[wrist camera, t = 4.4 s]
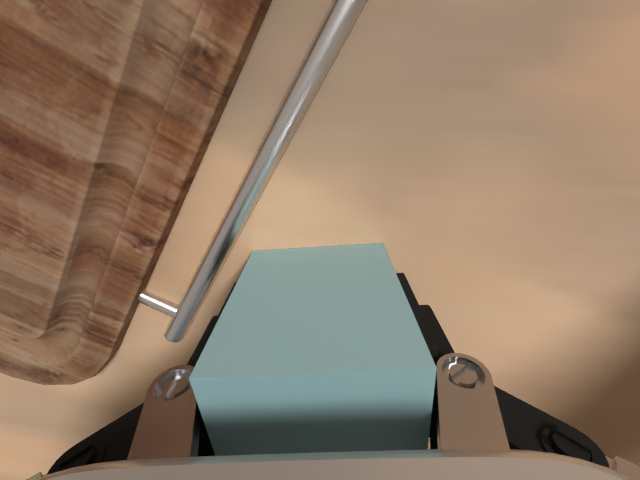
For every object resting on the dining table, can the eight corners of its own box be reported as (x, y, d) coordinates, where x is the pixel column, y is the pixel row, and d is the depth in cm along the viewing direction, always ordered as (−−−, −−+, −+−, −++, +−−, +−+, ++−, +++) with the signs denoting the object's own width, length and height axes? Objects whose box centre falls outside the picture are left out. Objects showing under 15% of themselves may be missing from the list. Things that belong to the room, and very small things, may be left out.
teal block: (382, 242, 11) (436, 368, 6) (381, 344, 13) (421, 508, 8) (253, 250, 12) (188, 378, 6) (270, 349, 14) (234, 512, 8)
